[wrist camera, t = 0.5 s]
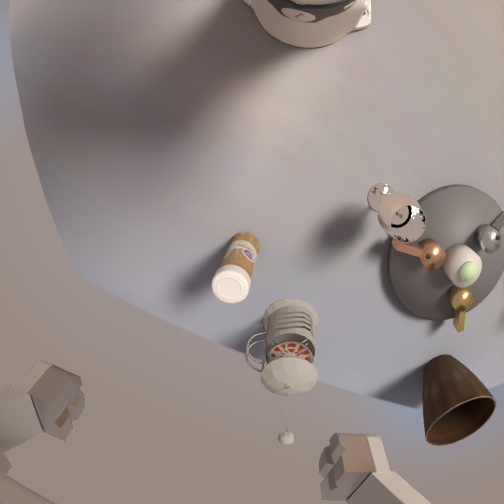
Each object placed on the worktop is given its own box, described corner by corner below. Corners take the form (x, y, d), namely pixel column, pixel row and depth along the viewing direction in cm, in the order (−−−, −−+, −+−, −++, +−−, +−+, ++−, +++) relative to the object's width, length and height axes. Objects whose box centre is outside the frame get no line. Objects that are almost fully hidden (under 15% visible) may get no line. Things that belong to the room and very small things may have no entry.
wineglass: (382, 223, 46) (407, 256, 35) (356, 200, 45) (375, 227, 34) (406, 195, 44) (438, 221, 33) (380, 170, 43) (408, 189, 32)
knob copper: (441, 242, 43) (450, 250, 40) (431, 264, 45) (439, 273, 42) (397, 226, 43) (403, 234, 41) (387, 250, 45) (393, 260, 42)
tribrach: (417, 162, 41) (436, 170, 35) (520, 212, 41) (542, 225, 35) (365, 299, 51) (373, 322, 45) (467, 323, 51) (481, 344, 45)
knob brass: (447, 286, 46) (454, 296, 43) (466, 280, 45) (474, 290, 42) (445, 325, 49) (452, 335, 46) (464, 319, 48) (470, 329, 45)
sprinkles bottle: (264, 240, 49) (255, 284, 37) (250, 263, 51) (237, 311, 39) (239, 225, 49) (221, 264, 37) (225, 248, 51) (204, 292, 38)
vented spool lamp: (312, 345, 57) (316, 464, 34) (250, 338, 57) (227, 454, 35) (324, 301, 52) (338, 423, 30) (255, 292, 53) (230, 412, 31)
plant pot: (470, 371, 56) (495, 422, 42) (414, 399, 61) (430, 454, 46) (464, 329, 52) (497, 383, 37) (400, 361, 56) (420, 422, 42)
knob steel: (480, 251, 43) (489, 259, 40) (471, 234, 42) (480, 242, 39) (512, 218, 40) (522, 225, 37) (503, 201, 39) (514, 207, 36)
